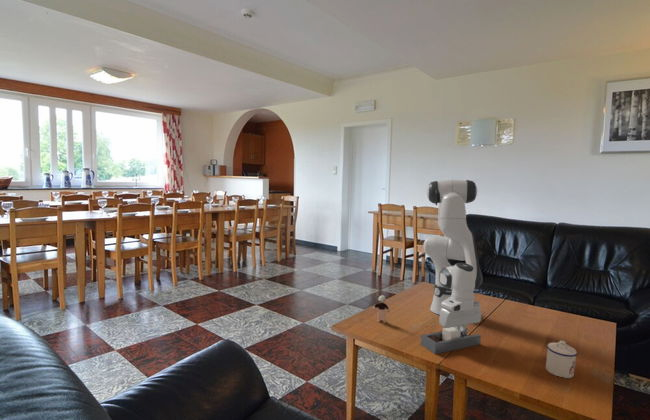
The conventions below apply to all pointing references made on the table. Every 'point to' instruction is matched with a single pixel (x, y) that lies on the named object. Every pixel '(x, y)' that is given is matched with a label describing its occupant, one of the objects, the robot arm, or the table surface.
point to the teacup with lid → (561, 359)
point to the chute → (448, 342)
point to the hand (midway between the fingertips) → (459, 334)
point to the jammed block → (450, 333)
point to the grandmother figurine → (381, 309)
